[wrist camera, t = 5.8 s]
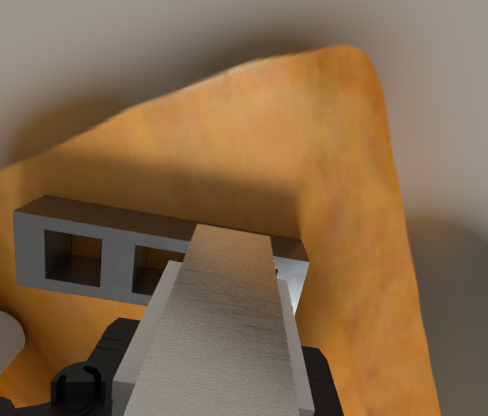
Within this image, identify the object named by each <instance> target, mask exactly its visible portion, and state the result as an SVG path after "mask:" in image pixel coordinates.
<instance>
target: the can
mask: <svg viewBox="0 0 488 416" xmlns="http://www.w3.org/2000/svg"><path fill="white" fill-rule="evenodd" d="M24 345H25V335H24V332H23V328H22V326H21V325H20V323H19V322H18V321H17V320H16V319H15V318H14V317H13V316H11V315H10V314H8V313H6V312H3V311H0V374H1V373H2V372H3V371H4V370H5V369H6V368H7V367H8V365H9V364H10V363H11V362H12V361H13V360H14V359H15V357H16V356H17V355H18V354H19V353H20V352H21V350H22V349H23V348H24Z"/></svg>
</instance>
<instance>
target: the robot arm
mask: <svg viewBox="0 0 488 416" xmlns="http://www.w3.org/2000/svg"><path fill="white" fill-rule="evenodd" d="M181 265H182V262H176V261H170V260H169V262H168V264H167V266H166V268H165V270H164V272H163V275H162V277H161V279H160V281H159V283H158V285H157V287H156V289H155V292H154V294H153V296H152V298H151V300H150V302H149V304H148V306H147V309H146V311H145V313H144V315H143V317H142V319H141V321H138V320H132V319H126V318H118V319H117V320H115V321H114V322H113V323H111V324H110V325H109V326H108V327H107V328H106V330H105V332H104V333H103V335H102V337H101V339H100V340H99V342H98V343H97V345H96V348H95V349H94V350H93V352H92V353H91V355H90V357H89V358H88V360H87V362H79V363H74V364H72V365H70V366H67V367H65V368H64V369H62V370H61V371H60V372H59V373H57V374H56V376H55V377H54V378H53V380H52V381H51V401H50V402H48V403H44V404H40V405H35V406H29V407H22V408H15V407H14V405H13V403H12V402H11V400H9V399H6V398H4V397H0V416H123V415H124V412H125V410H126V407H127V405H128V402H129V399H130V397H131V394H132V392H133V389H134V387H135V384H136V381H137V379H138V376H139V374H140V371H141V368H142V366H143V363H144V361H145V358H146V355H147V353H148V350H149V348H150V345H151V343H152V340H153V337H154V335H155V332H156V330H157V327H158V324H159V322H160V319H161V317H162V314H163V311H164V309H165V306H166V304H167V301H168V299H169V296H170V293H171V291H172V288H173V286H174V283H175V280H176V278H177V275H178V273H179V270H180V268H181ZM277 282H278V288H279V294H280V300H281V306H282V312H283V318H284V324H285V330H286V336H287V342H288V348H289V354H290V360H291V366H292V372H293V378H294V384H295V390H296V396H297V402H298V408H299V414H300V416H344V414H343V411H342V407H341V404H340V401H339V398H338V394H337V391H336V388H335V385H334V381H333V378H332V375H331V371H330V368H329V365H328V361H327V359H326V358H325V356H324V355H323V354H322V352H321V351H320V350H319V349H318V348H312V347H306V346H301V344H300V339H299V335H298V330H297V326H296V321H295V316H294V312H293V307H292V303H291V298H290V293H289V289H288V284H287V280H281V279H277Z"/></svg>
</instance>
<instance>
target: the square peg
mask: <svg viewBox="0 0 488 416" xmlns="http://www.w3.org/2000/svg"><path fill="white" fill-rule="evenodd" d="M123 416H300V414H299V408H298V402H297V396H296V390H295V384H294V378H293V372H292V366H291V360H290V354H289V348H288V342H287V336H286V330H285V324H284V318H283V312H282V306H281V300H280V294H279V288H278V282H277V276H276V270H275V264H274V258H273V252H272V246H271V240H270V236H264V235H258V234H253V233H247V232H242V231H236V230H230V229H225V228H219V227H214V226H208V225H202V224H197V226H196V229H195V231H194V234H193V236H192V239H191V242H190V244H189V247H188V249H187V252H186V255H185V257H184V260H183V262H182V265H181V268H180V270H179V273H178V275H177V278H176V280H175V283H174V286H173V288H172V291H171V293H170V296H169V299H168V301H167V304H166V306H165V309H164V311H163V314H162V317H161V319H160V322H159V324H158V327H157V330H156V332H155V335H154V337H153V340H152V343H151V345H150V348H149V350H148V353H147V355H146V358H145V361H144V363H143V366H142V368H141V371H140V374H139V376H138V379H137V381H136V384H135V387H134V389H133V392H132V394H131V397H130V399H129V402H128V405H127V407H126V410H125V412H124V415H123Z"/></svg>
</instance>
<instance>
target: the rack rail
mask: <svg viewBox="0 0 488 416" xmlns="http://www.w3.org/2000/svg"><path fill="white" fill-rule="evenodd" d="M13 223H14V241H15V259H16V276H17V285H19V286H25V287H31V288H38V289H44V290H50V291H56V292H63V293H69V294H75V295H81V296H87V297H94V298H100V299H106V300H112V301H119V302H125V303H131V304H137V305H143V306H148V304H149V302H150V300H151V298H152V296H153V294H154V292H155V289H156V287H157V285H158V283H159V281H160V279H161V277H162V275H163V272H164V270H159V269H153V268H147V267H146V264H147V253H148V247H151V248H157V249H163V250H169V251H175V252H180V253H186V252H187V249H188V247H189V244H190V242H191V239H192V236H193V234H194V231H195V229H196V226H197V224H202V225H208V226H214V227H219V228H225V229H230V230H236V231H242V232H247V233H253V234H258V235H264V236H270V240H271V246H272V252H273V258H274V264H275V270H276V276H277V279H281V280H287V284H288V289H289V293H290V298H291V303H292V307H293V312H294V316H295V312H296V309H297V305H298V302H299V298H300V295H301V292H302V288H303V285H304V281H305V278H306V274H307V271H308V267H309V264H310V261H309V259H308V256H307V253H306V251H305V248H304V245H303V243H302V240H297V239H292V238H286V237H280V236H275V235H269V234H263V233H258V232H252V231H246V230H241V229H235V228H229V227H224V226H218V225H212V224H207V223H201V222H195V221H189V220H184V219H178V218H172V217H167V216H161V215H155V214H150V213H144V212H138V211H133V210H127V209H121V208H116V207H110V206H104V205H99V204H93V203H87V202H82V201H76V200H70V199H64V198H59V197H53V196H47V195H45V196H42V197H40V198H38V199H36V200H34V201H32V202H30V203H28V204H26V205H24V206H22V207H20V208H18V209H16V210H14V211H13ZM72 234H75V235H81V236H87V237H92V238H98V239H102V258H101V260H99V259H93V258H87V257H81V256H75V255H71V247H72Z"/></svg>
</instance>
